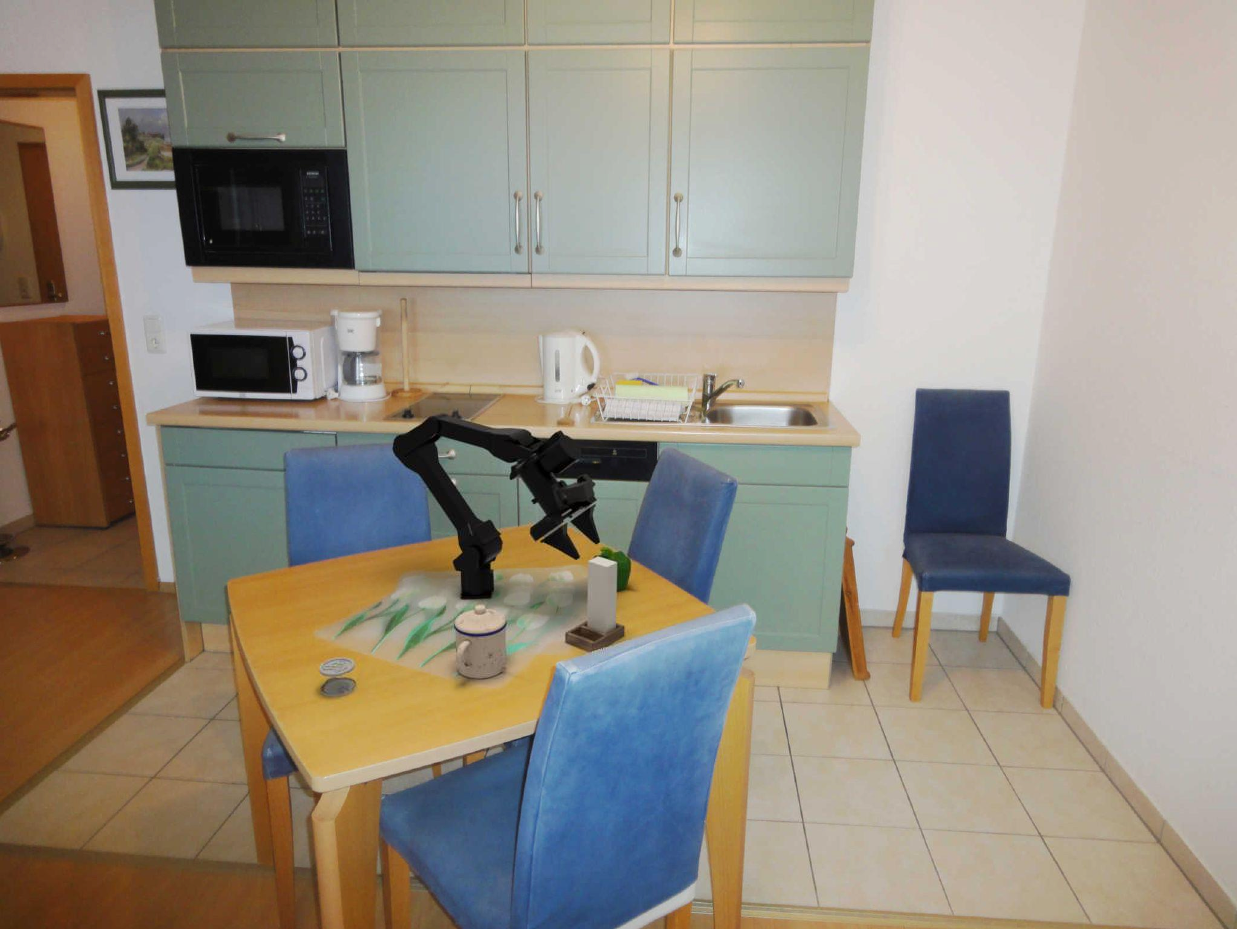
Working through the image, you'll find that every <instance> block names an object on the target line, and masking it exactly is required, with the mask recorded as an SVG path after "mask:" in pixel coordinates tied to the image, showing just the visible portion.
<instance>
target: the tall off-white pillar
mask: <svg viewBox="0 0 1237 929" xmlns="http://www.w3.org/2000/svg"><path fill="white" fill-rule="evenodd" d="M593 558H594V557H593ZM593 558H592V559H590V560H588V561H587V610H586V612H587V617H586V618H587V620H586V621H587V627H588V628H591V629H594V630H596V631H599V632H602V633H605V634H608V633H610V632H611V631H613V630H615V629H616V623H617V596H618V595H617V592H618V591H617V562H614V561H611V560H608V559H605V558H601V557H596V558H594V559H593Z"/></svg>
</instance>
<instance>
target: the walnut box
mask: <svg viewBox="0 0 1237 929" xmlns="http://www.w3.org/2000/svg"><path fill="white" fill-rule="evenodd" d="M625 626H626V625H623V624H620V623H617V622H616V629H615V630H613V631H611V632H610V633H608V634H605V633H602V632H599V631H596V630H594V629H591V628H588V627H587V620H586V621H584V622H582V623H581V624H579V625H577V626H575V627H574V628H571V629H570V630H568V631H566V632H564V633H565V634H564V638H565V640H564V643H565V644H567V645H570V646H572V647H575V648H577V649H580V650H583V651H585V652H587V653H590V652H592V651H595V650H598V649H601V648H603V647H605V648H607V647H609V646H611V645H612V644H613V643H615V642H617V641H618V640H620V639H622V638H624V637H625V635H626V634H625V631H626V630H625V628H626V627H625Z"/></svg>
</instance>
